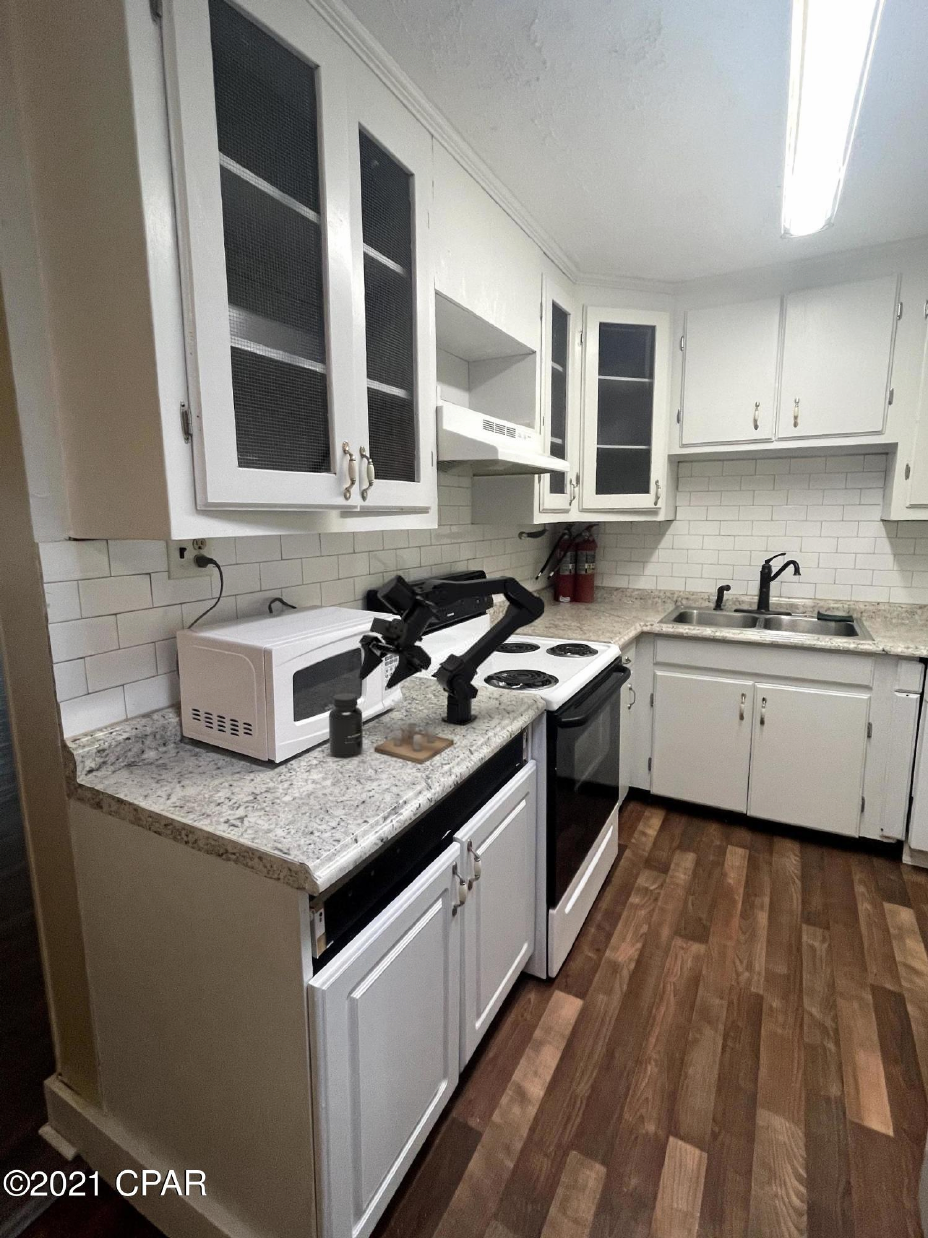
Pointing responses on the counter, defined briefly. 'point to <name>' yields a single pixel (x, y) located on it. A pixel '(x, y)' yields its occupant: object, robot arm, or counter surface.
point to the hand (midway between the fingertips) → (373, 683)
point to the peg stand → (414, 745)
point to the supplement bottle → (345, 726)
